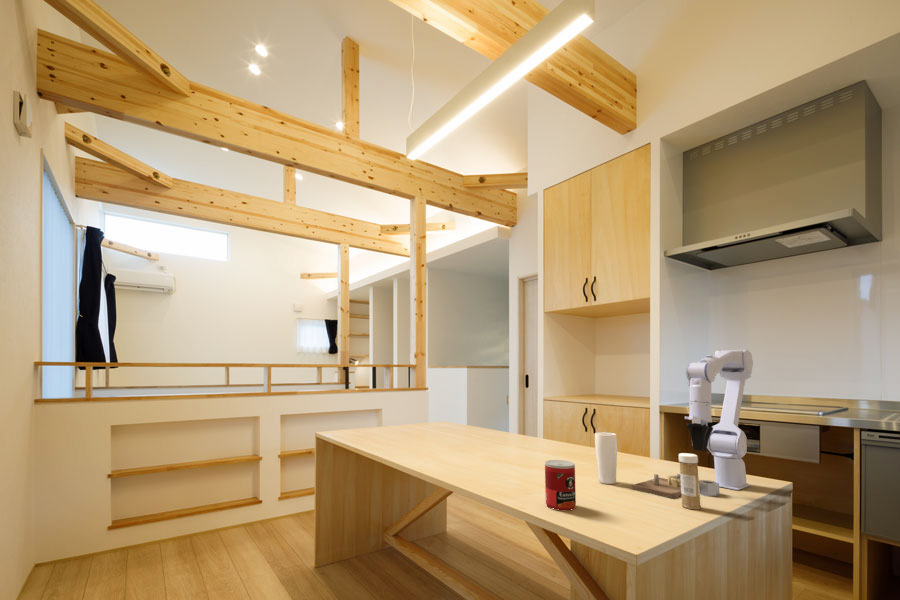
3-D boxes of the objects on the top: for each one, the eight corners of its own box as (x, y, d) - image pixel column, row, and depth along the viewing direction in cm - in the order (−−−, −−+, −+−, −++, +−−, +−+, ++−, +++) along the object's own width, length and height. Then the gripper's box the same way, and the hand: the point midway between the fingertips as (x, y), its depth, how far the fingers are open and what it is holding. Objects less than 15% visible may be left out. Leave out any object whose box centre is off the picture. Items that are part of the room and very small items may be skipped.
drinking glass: (621, 481, 146) (619, 433, 148) (616, 486, 141) (614, 435, 143) (599, 478, 150) (597, 431, 152) (593, 483, 144) (592, 434, 146)
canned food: (559, 512, 115) (558, 467, 117) (539, 504, 122) (538, 461, 124) (582, 508, 119) (581, 464, 120) (561, 500, 126) (560, 458, 127)
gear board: (659, 481, 148) (658, 467, 148) (698, 489, 138) (697, 474, 139) (632, 489, 138) (631, 474, 138) (672, 498, 128) (671, 482, 129)
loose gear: (703, 490, 137) (702, 479, 138) (722, 494, 133) (721, 482, 134) (695, 493, 134) (694, 481, 134) (714, 497, 130) (713, 485, 130)
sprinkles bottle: (704, 508, 120) (701, 454, 122) (695, 511, 117) (691, 456, 119) (687, 503, 124) (684, 452, 125) (677, 506, 121) (674, 453, 123)
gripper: (689, 403, 144) (688, 448, 141) (681, 399, 133) (680, 447, 130) (715, 406, 140) (715, 452, 137) (708, 401, 129) (708, 452, 126)
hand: (700, 450), depth 133 cm, fingers open, 7 cm apart
